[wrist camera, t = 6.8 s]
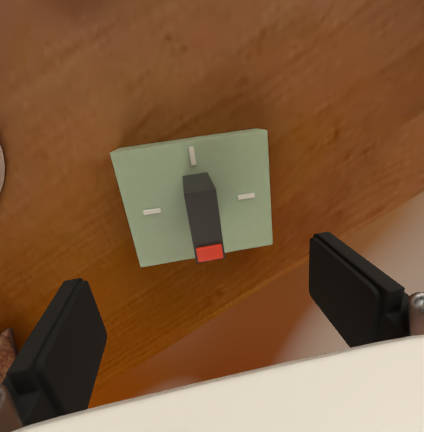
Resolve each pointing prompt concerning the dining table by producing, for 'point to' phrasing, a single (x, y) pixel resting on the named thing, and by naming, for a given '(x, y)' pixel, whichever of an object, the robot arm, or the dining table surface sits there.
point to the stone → (6, 352)
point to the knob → (203, 217)
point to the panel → (174, 195)
